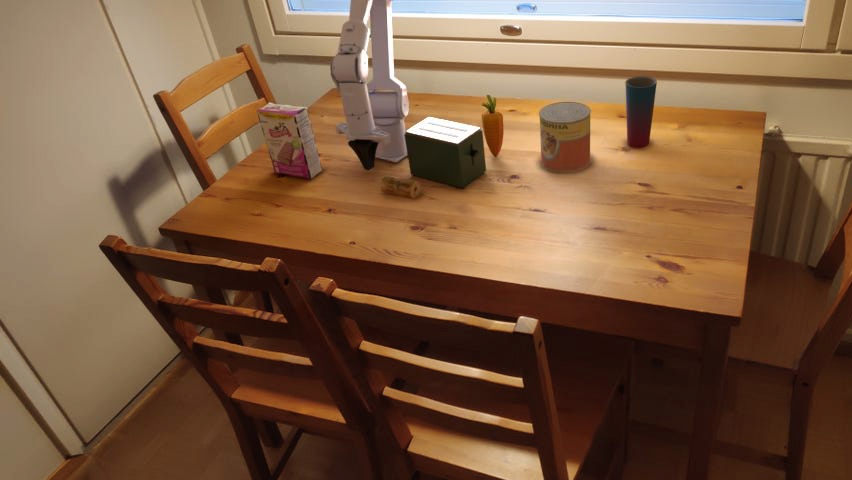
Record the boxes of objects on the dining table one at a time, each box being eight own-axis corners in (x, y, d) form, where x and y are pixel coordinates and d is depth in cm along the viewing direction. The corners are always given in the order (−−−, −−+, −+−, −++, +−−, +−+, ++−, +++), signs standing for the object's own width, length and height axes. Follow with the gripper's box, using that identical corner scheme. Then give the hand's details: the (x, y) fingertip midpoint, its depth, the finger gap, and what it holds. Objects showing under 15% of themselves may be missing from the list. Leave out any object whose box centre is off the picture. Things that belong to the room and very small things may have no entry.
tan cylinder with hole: (422, 192, 151) (419, 176, 149) (412, 201, 148) (409, 185, 146) (391, 187, 155) (388, 171, 152) (380, 196, 152) (377, 179, 149)
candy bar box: (273, 174, 165) (254, 110, 156) (286, 165, 169) (268, 101, 159) (311, 180, 161) (294, 114, 151) (323, 170, 164) (307, 105, 155)
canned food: (530, 161, 158) (528, 112, 152) (566, 145, 164) (565, 97, 157) (564, 177, 151) (563, 127, 144) (600, 160, 156) (601, 110, 149)
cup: (620, 148, 160) (622, 86, 151) (626, 136, 165) (629, 75, 156) (650, 151, 157) (653, 88, 149) (655, 138, 162) (659, 76, 154)
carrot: (504, 161, 160) (499, 100, 151) (483, 161, 161) (477, 100, 152) (507, 152, 164) (503, 91, 155) (487, 152, 165) (481, 92, 156)
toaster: (410, 176, 158) (403, 131, 152) (434, 160, 164) (428, 116, 157) (467, 191, 150) (462, 144, 143) (490, 173, 156) (486, 127, 149)
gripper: (320, 112, 146) (333, 169, 154) (370, 123, 139) (381, 182, 147) (343, 100, 151) (355, 156, 159) (392, 110, 143) (402, 168, 151)
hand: (369, 168), depth 153 cm, fingers closed
